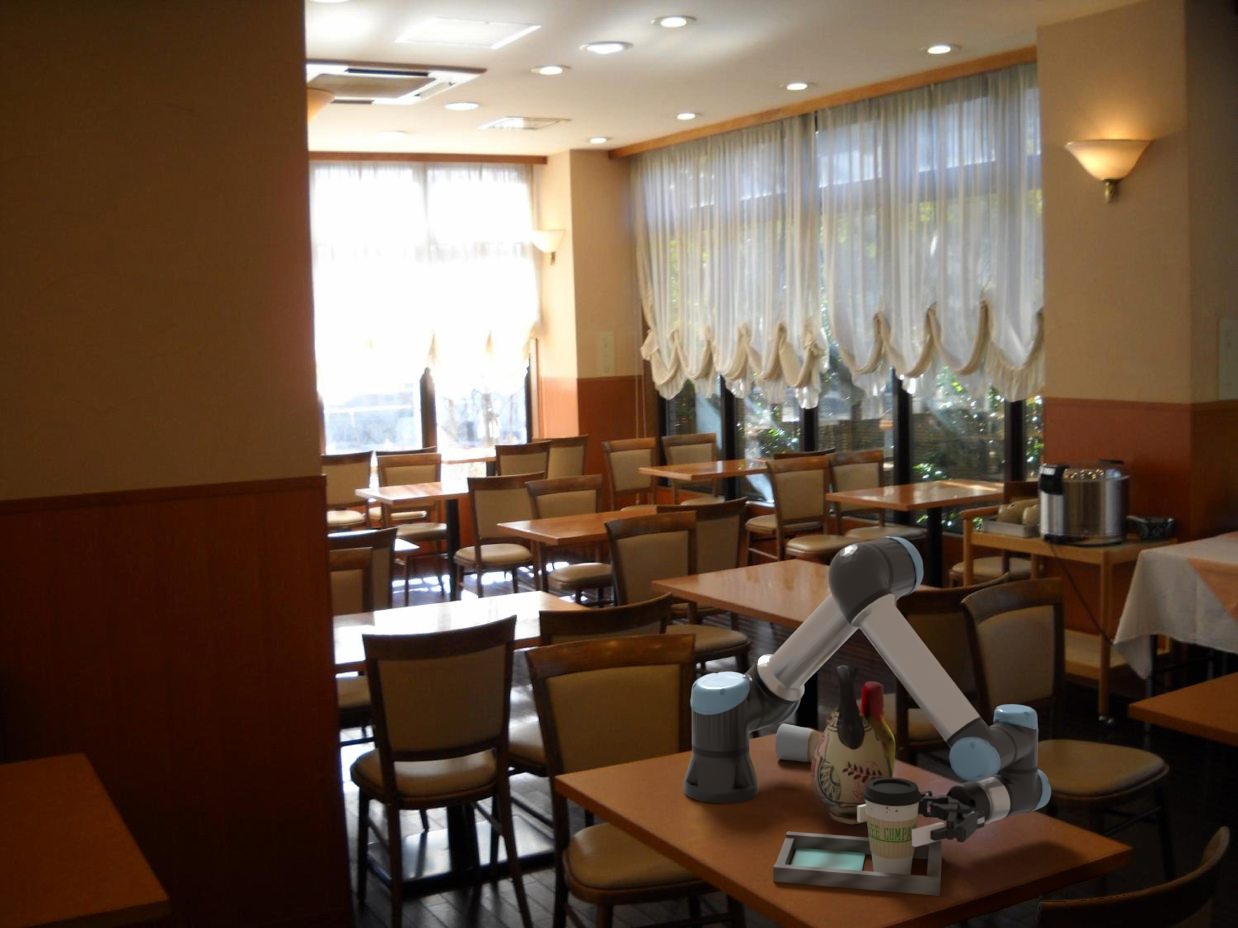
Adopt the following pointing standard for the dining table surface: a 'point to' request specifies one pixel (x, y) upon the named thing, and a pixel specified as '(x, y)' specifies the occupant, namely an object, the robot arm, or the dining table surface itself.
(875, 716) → the bottle
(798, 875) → the bay
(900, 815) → the coffee cup
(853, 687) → the ceramic jug
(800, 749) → the ceramic mug
